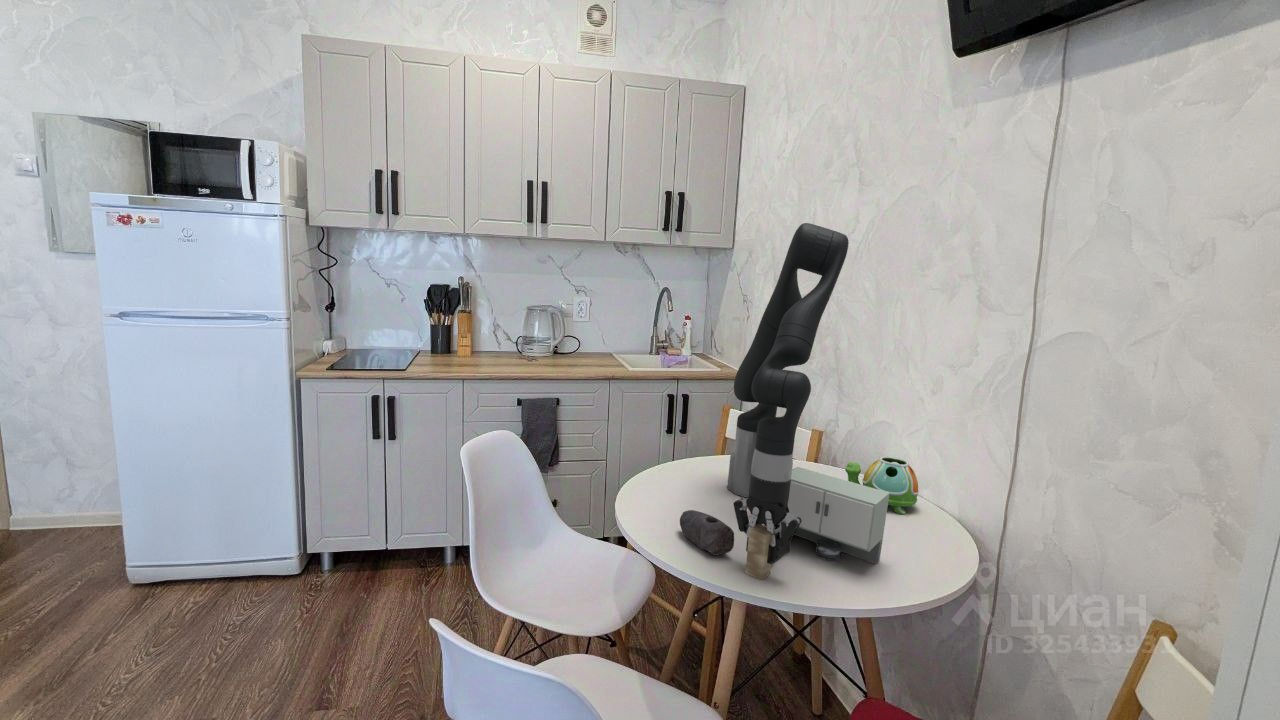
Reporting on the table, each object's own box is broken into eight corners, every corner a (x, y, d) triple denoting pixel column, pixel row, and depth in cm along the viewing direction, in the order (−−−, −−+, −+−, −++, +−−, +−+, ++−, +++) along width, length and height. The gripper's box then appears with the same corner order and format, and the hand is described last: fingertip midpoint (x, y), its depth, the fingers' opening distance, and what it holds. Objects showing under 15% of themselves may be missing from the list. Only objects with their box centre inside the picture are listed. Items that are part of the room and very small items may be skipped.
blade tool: (745, 573, 119) (749, 529, 117) (780, 547, 130) (784, 507, 129) (761, 579, 117) (766, 535, 115) (795, 553, 128) (800, 512, 127)
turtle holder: (845, 487, 169) (850, 445, 167) (916, 502, 162) (923, 459, 160) (838, 502, 158) (844, 457, 156) (914, 519, 151) (922, 473, 149)
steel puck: (811, 555, 129) (813, 544, 128) (821, 547, 132) (822, 536, 132) (834, 563, 126) (836, 552, 125) (843, 555, 129) (845, 544, 129)
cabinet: (770, 543, 132) (778, 476, 130) (789, 529, 140) (797, 466, 137) (864, 578, 120) (874, 505, 118) (879, 561, 128) (889, 492, 125)
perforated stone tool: (671, 532, 134) (673, 502, 133) (690, 528, 137) (692, 498, 136) (714, 564, 122) (718, 531, 121) (735, 558, 125) (738, 526, 123)
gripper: (814, 479, 116) (803, 565, 118) (747, 460, 124) (738, 540, 127) (797, 488, 110) (786, 578, 112) (728, 467, 118) (719, 552, 121)
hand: (761, 558), depth 119 cm, fingers closed on blade tool, 3 cm apart
